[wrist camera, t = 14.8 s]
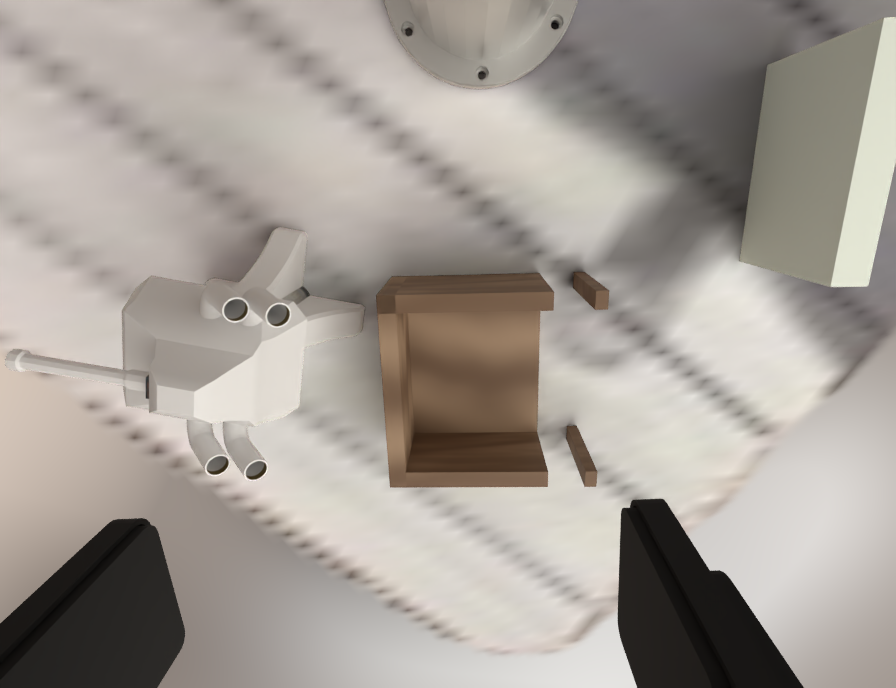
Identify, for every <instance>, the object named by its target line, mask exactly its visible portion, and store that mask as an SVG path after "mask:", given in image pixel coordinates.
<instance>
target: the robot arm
mask: <svg viewBox="0 0 896 688" xmlns="http://www.w3.org/2000/svg"><path fill="white" fill-rule="evenodd" d="M384 2H385V6H386V9H387V12H388V15H389V18H390V22H391V24H392V26H393V29H394V31H395V33H396V35H397V37H398V38H399V40H400V42H401V43H402V45H403V46H404V48H405V49H406V51H407V53H408V54H409V55H410V56H411V57H412V58H413V59H414V60H415V61H416V62H417V63H418V64H419V66H420V67H422V68H423V69H424V70H426V71H427V72H429V73H430V74H431V75H433V76H434V77H436V78H438V79H440V80H442V81H444V82H446V83H449V84H451V85H454V86H459V87H463V88H468V89H489V88H494V87H499V86H504V85H506V84H508V83H511V82H513V81H516V80H518V79H520V78H522V77H523V76H525V75H526V74H528V73H529V72H531V71H532V70H534V69H535V68H537V67H538V66H539V65H540V64H541V63H542V62H543V61H544V60H545V59H546V58H547V57H548V56H549V55H550V54H551V52H552V51H553V50H554V48H555V47H556V46H557V44H558V43H559V41H560V40H561V38H562V37H563V35H564V33H565V32H566V30H567V28H568V26H569V24H570V22H571V19H572V16H573V14H574V11H575V9H576V6H577V3H578V0H384ZM553 22H556V23H557V24H558V29H555V30H554V29H552V28H551V23H553ZM407 29H412V30H413V34H412V35H411V36H407V35H406V34H405V33H406V30H407ZM480 72H484V73H485V75H486V77H485V78H484V79H482V80H481V79H479V78H478V74H479V73H480ZM618 627H619V633H620V638H621V641H622V644H623V647H624V650H625V653H626V656H627V659H628V662H629V665H630V668H631V670H632V673H633V676H634V679H635V682H636V685H637V688H803V686H802V684H801V683H800V682H799V680H798V679H797V677H796V676H795V674H794V673H793V671H792V670H791V668H790V667H789V665H788V664H787V662H786V661H785V659H784V658H783V656H782V655H781V653H780V652H779V650H778V649H777V647H776V646H775V645H774V643H773V642H772V640H771V639H770V637H769V636H768V634H767V633H766V631H765V630H764V628H763V627H762V625H761V624H760V622H759V621H758V619H757V618H756V616H755V615H754V613H753V612H752V611H751V609H750V608H749V606H748V605H747V603H746V602H745V600H744V599H743V597H742V596H741V594H740V593H739V591H738V590H737V588H736V587H735V585H734V584H733V583H732V581H731V580H730V578H729V577H728V576H727V575H726V574H725V573H724V572H722V571H710V570H709V569H708V567H707V566H706V564H705V563H704V561H703V559H702V558H701V556H700V555H699V553H698V552H697V550H696V548H695V547H694V545H693V544H692V542H691V541H690V539H689V537H688V536H687V534H686V533H685V531H684V530H683V528H682V526H681V525H680V523H679V522H678V520H677V519H676V517H675V515H674V514H673V512H672V511H671V509H670V508H669V506H668V504H667V503H666V502H665V500H663V499H642V500H633V501H632V502H631V506H630V508H623V509H622V511H621V533H620V563H619V593H618ZM184 637H185V629H184V625H183V621H182V617H181V614H180V610H179V607H178V603H177V599H176V596H175V592H174V588H173V585H172V581H171V577H170V574H169V570H168V566H167V563H166V559H165V555H164V552H163V548H162V545H161V541H160V537H159V534H158V531H157V529H156V527H155V526H152V525H150V522H148V520H146V519H143V518H139V519H117V520H113V521H111V522H110V523H109V524H107V525H106V526H105V527H104V528H103V529H102V530H101V531H100V532H99V533H98V534H97V535H96V536H94V537H93V538H92V539H91V540H90V541H89V542H88V543H87V544H86V545H85V546H84V547H83V548H82V549H80V550H79V551H78V552H77V553H76V554H75V555H74V556H73V557H72V558H71V559H70V560H68V561H67V562H66V563H65V564H64V565H63V566H62V567H61V568H60V569H59V570H58V571H57V572H56V573H54V574H53V575H52V576H51V577H50V578H49V579H48V580H47V581H46V582H45V583H44V584H43V585H42V586H41V587H39V588H38V589H37V590H36V591H35V592H34V593H33V594H32V595H31V596H30V597H29V598H28V599H26V600H25V601H24V602H23V603H22V604H21V605H20V606H19V607H18V608H17V609H16V610H14V611H13V612H12V613H11V614H10V615H9V616H8V617H7V618H6V619H5V620H4V621H3V622H2V623H0V688H157V687H158V685H159V684H160V682H161V681H162V679H163V677H164V676H165V674H166V673H167V671H168V669H169V668H170V666H171V665H172V663H173V661H174V660H175V658H176V657H177V655H178V653H179V652H180V650H181V648H182V646H183V643H184Z"/></svg>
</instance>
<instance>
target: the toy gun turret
mask: <svg viewBox="0 0 896 688" xmlns="http://www.w3.org/2000/svg"><path fill="white" fill-rule="evenodd" d="M306 246H307V234H306V233H305V232H304V231H299V230H294V229H288V228H283V227H279V228H276V229H275V230H273V231H272V233H271V235H270V238H269V240H268V242H267V244H266V246H265V247H264V249H263V251H262V253H261V254H260V256H259V258H258V259H257V261H256V262H255V263H254V265H253V266H252V267H251V269H250V270H249V271H248V272H247V274H246V275H245V276H244V277H243V278H242V280H241V281H240V282H234V281H228V280H223V279H217V278H212V279H210V280H208V281H207V282H206V283H205V285H200V284H195V283H189V282H184V281H178V280H173V279H167V278H162V277H156V276H150V277H149V278H148V279H147V280H145V281H144V282H143V283H142V284H140V285H139V286H138V287H137V288H136V289H135V290H134V292H133V294H132V295H131V297H130V298H129V300H128V301H127V303H126V305H125V306H124V308H123V309H122V341H123V370H121V369H115V368H109V367H103V366H97V365H91V364H86V363H80V362H74V361H68V360H62V359H56V358H50V357H44V356H38V355H32V354H31V353H30V352H29V351H27V350H21V349H13V350H12V351H10V352H9V353H8V354H7V356H6V359H5V366H6V367H7V368H8V369H9V370H13V371H18V372H22V371H26V370H31V371H37V372H43V373H49V374H55V375H61V376H67V377H73V378H79V379H85V380H91V381H96V382H102V383H108V384H114V385H120V386H123V390H124V396H125V402H126V406H128V407H134V408H140V409H146V410H149V413H153V414H159V415H165V416H170V417H176V418H182V419H187V432H188V438H189V442H190V445H191V448H192V450H193V451H194V453H195V455H196V456H197V458H198V460H199V461H200V463H201V465H202V466H203V468H204V470H205V471H206V473H207V474H208V475H210V476H218V475H221V474H223V473H224V472H226V471H227V470H228V468H229V466H230V459H229V457H228V456H227V454H226V453H225V451H224V450H223V448H222V447H221V445H220V444H219V443H218V441H217V440H216V438H215V437H214V433H213V429H212V424H216V423H220V422H223V437H224V443H225V446H226V449H227V452H228V453H229V455H230V456H231V458H232V459H233V461H234V462H235V464H236V465H237V467H238V468H239V470H240V471H241V472H242V474H243V475H244V477H245V478H246V479H247V480H248V481H257V480H259V479H261V478H262V477H263V476H264V475H265V474H266V473H267V471H268V464H267V462H266V461H265V459H264V458H263V457H262V456H261V454H260V453H259V452H258V450H257V449H256V448H255V446H254V445H253V444H252V443H251V441H250V440H249V436H248V430H247V426H252V427H256V426H258V425H259V424H260V423H264V422H268V421H272V420H275V419H279V418H283V417H285V416H286V415H288V414H289V413H291V412H292V411H294V410H295V409H297V408H298V407H299V402H300V391H301V381H302V370H303V360H304V349H305V348H307V347H310V346H312V345H315V344H319V343H322V342H325V341H329V340H334V339H339V338H345V337H352V336H357V335H358V334H359V333H360V332H361V331H362V326H363V319H364V311H365V308H364V307H363V305H361V304H355V303H350V302H344V301H339V300H333V299H328V298H322V297H317V296H311V295H309V293H308V291H307V290H306V289H305V288H304V287H303V279H304V268H305V257H306Z"/></svg>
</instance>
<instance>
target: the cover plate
mask: <svg viewBox="0 0 896 688" xmlns="http://www.w3.org/2000/svg"><path fill="white" fill-rule="evenodd" d="M895 162H896V17H891V18H882V19H880V20H877V21H875V22H873V23H870V24H868V25H865V26H863V27H860V28H858V29H855V30H853V31H850V32H848V33H845V34H843V35H840V36H838V37H835V38H833V39H830V40H828V41H825V42H823V43H820V44H818V45H816V46H813V47H811V48H808V49H806V50H803V51H801V52H798V53H796V54H793V55H791V56H788V57H786V58H783V59H781V60H778V61H776V62H773V63H771V64H768V65H767V72H766V79H765V86H764V93H763V100H762V107H761V114H760V121H759V128H758V135H757V142H756V149H755V156H754V163H753V170H752V177H751V183H750V190H749V197H748V204H747V211H746V218H745V225H744V232H743V239H742V246H741V253H740V260H739V261H740V262H744V263H748V264H751V265H755V266H758V267H762V268H765V269H769V270H772V271H776V272H779V273H783V274H786V275H790V276H793V277H797V278H800V279H804V280H807V281H811V282H814V283H818V284H822V285H825V286H829V287H858V286H868V284H869V279H870V275H871V270H872V266H873V261H874V257H875V252H876V248H877V243H878V239H879V234H880V230H881V225H882V221H883V216H884V212H885V207H886V203H887V198H888V194H889V189H890V185H891V180H892V176H893V171H894V167H895Z"/></svg>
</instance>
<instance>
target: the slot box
mask: <svg viewBox="0 0 896 688" xmlns="http://www.w3.org/2000/svg"><path fill="white" fill-rule="evenodd" d="M573 288H574V289H575V290H576V291H577V292H578V293H579V294H580V295H581V296H582V297H583V298H584V299H585V300H586V301H587V302H588V303H589V304H590V305H591V306H592V307H593V308H594V309H595V310H601V309H608V301H609V290H608V289H606V288H605V287H604V286H602V285H601V284H600V283H598V282H597V281H596V280H594V279H593V278H592V277H590V276H589V275H588V274H586V273H585V272H574V280H573ZM376 302H377V316H378V329H379V343H380V356H381V370H382V384H383V397H384V411H385V424H386V438H387V451H388V465H389V479H390V487H548V470H547V466H546V463H545V459H544V455H543V452H542V448H541V445H540V441H539V437H538V434H537V412H538V372H539V332H540V311H551V310H553V307H554V291H553V290H552V289H551V287H550V286H549V285H548V284H547V282H546V281H545V280H544V279H543V277H542V276H541V275H540V274H539V273H524V274H481V275H438V276H395V277H391V278H390V279H389V281H388V282H387V283H386V284H385V285H384V287H383V288H382V289H381V290H380V291H379V293H378V294H377V295H376ZM566 439H567V442H568V444H569V447H570V450H571V452H572V455H573V457H574V460H575V463H576V465H577V468H578V470H579V473H580V476H581V478H582V481H583V483H584V486H585V487H596V483H597V470H596V468H595V465H594V463H593V461H592V459H591V457H590V454H589V452H588V450H587V448H586V445H585V443H584V441H583V439H582V437H581V434H580V432H579V430H578V428H577V426H567V438H566Z"/></svg>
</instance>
